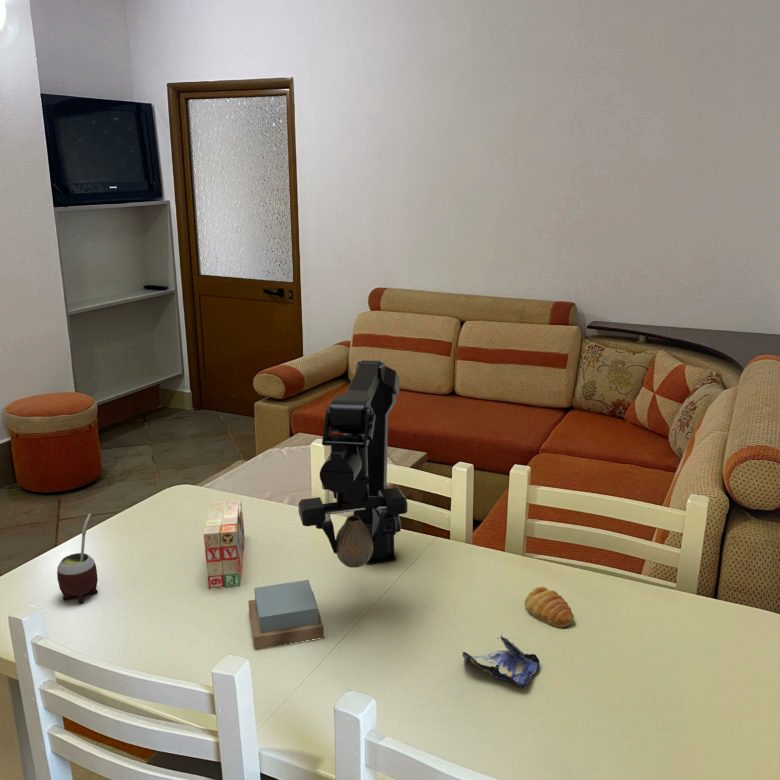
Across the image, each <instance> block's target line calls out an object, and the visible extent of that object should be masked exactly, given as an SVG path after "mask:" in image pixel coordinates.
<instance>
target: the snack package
mask: <svg viewBox="0 0 780 780" xmlns="http://www.w3.org/2000/svg"><path fill="white" fill-rule="evenodd" d="M498 639H499V637H497V640H498ZM499 640H501V641H502V643H503V645H504V647H505V649H506V650H496V651H493V652H490V653H488V654H485V655H481V654H480V655H471V654H469V653H467V652H465V651H463V652H462V655H461V656H462V657H463V658H464V660H465V662H468V661H470V662H471V663H472V665H474V666H476V667H478V668H479V669H480V670H482V671H483V672H485V673H487V674H489V675H490V676H491V677H494V678H496V679H499V680H504V681H508V682H512V683H514V684H515V685H516V686H518V687H519V688H521V689H523V690H524V689H525V688H526V686H527V685H528V684H529V682H530V681H531V679H532V677H533V675H535V674H536V673H537V672H538V671H539V668H540V665H541V664H540V659H539V658H538V656H537V655H536V654H534V653H530V654H528V653H524V652H523V651H522V650H520V648H519V647H518V646H516V644H514V643H513V642H511V641H510V640H509V639H507V638H506V637H503V634H501V635H500V639H499ZM476 659H482V660H484V661H487V662H489V663H493V664H495V666H493V665H491V666H489V665H488V664H486V665H485V664H481V663H479V662H478V661H477V660H476ZM500 668H507V671H508V673H506V672H505V673H504V672H501V671H500ZM536 675H537V674H536Z"/></svg>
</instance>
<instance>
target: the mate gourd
mask: <svg viewBox="0 0 780 780" xmlns="http://www.w3.org/2000/svg"><path fill="white" fill-rule="evenodd" d="M91 515H92V514H91V513H88V514H87V517H86V519H85V521H84V523H83V527H82V530H81V536H82V537H81V547H80V549H81V550H80V552H77V553H72V554H69V555H66V556H65V557H63V558H62V559H61V560H60V561H59V563H58V565H57V568H56V569H57V572H56V575H57V576H56V577H57V582H58V587H59V590H60V592H61V594H62V596H63V597H62V600H63V601H64V602H67V601H71V600H76V599H78V604H79V605H80V606H81V605H84V603H85V602H84V597H89V596H93V595H97V594H98V591H99V590H98V589H97V586H98V581H99V580H98V569H97V565H96V562H95V560H94V558H92V556H91V555H89V554H87V553H85V546H86V545H85V542H86V535H87V526H88V523H89V521H90V518H91Z"/></svg>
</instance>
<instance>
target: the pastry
mask: <svg viewBox="0 0 780 780" xmlns="http://www.w3.org/2000/svg"><path fill="white" fill-rule="evenodd" d="M524 605H525V607H526V609H527V612H528V613H530V615H532V616H533V618H535V619H537V620H539V621H541V622H542V623H545V624H547V625H549V626H551V627H556V628H560V629H561V628H565V627H568V626H570V625H572V622H573V621H574V618H575V616H574V613H573V612H572V608H571V607H570V605H569V604H568V602H567V601H566V600H565V599H564V598H563V596H562V595H561V594H558V592H557V591H555V590H549V589H548V588H547V587H546V586H539V587H535V588H534V589H532V591H530V592H529V593H528V594H527V596H526V598H525V600H524Z"/></svg>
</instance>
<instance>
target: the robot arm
mask: <svg viewBox="0 0 780 780" xmlns="http://www.w3.org/2000/svg"><path fill="white" fill-rule="evenodd" d="M355 368H356V369H355V372H354V376H353V377H352V379H351V381H350V382H349V385H348V387H347V389H346V391H345V392H343V393H340V394H337V395H336V396H334V398H333V399H331V401H330V403H329V405H328V406H327V407H326V410H325V416H324V425H323V433H322V440H321V441H322V442H321V445H322V446H329V447H330V453H329V456H328V457H327V459H326V460H325V462H324V463H323V465H321V467H320V468H321V469H320V471H319V480H320V482H321V488H322V489H323V490H324V491H326V490H329V491H330V492H332V495H333V498H334V499H335V500H336V502H329V503H323V501H322V499H321V497H320V496H319V497H312V498H311V497H309V498H303V499H302V498H301V499H300V500H299V502H298V505H297V506H298V514H299V518H300V521H301V523H302V526H303V527H313V526H314V527H315V528H316V529H318V530H320V529H321V530H322V531H323V532H324V534H325V536H326V537H327V539H328V541H329V545H330V547H331V549H332V551H333V554H336V541H335V540H336V535H335V527H334V524H333V520H332V519H331V515H334V514H342V513H351V512H353V516H359V517H360V519H361V521H362V522H363V523H364V524H365V525H366V526H367V528H368V529H369V530H370V532H371V534H372V537H373V543H374V547H373V553H372V556H371V558H370V560H369V561H368V562H367V563H366V564H365V565H372V564H381V563H386V562H394V561H395V562H396V561H397V559H398V558H397V555H396V554H395V536H396V534H397V533H399V532H401V529H402V526H401V525H402V523H401V518H400V515H405V514H407V513H408V500H407V497H406V496H405V494H404V493H403V492H402V490H401V489H400V488H398V487H392V488H390V487H388V481H387V480H388V446H389V445H388V442H389V441H388V437H389V435H388V433H389V414H390V412H391V410H392V409H393V407H394V406H395V404H396V403H397V395H399V394H400V388H401V386H400V385H401V384H400V383H401V382H400V377H399V375H398V372H397V371H396V370H395V369H392V368H391V367H389V366H387V365H386V364H385V362H383V361H381V360H364V359H362V360H360V361H357V364H356V366H355ZM331 433H333V434H331ZM336 555H337V554H336Z"/></svg>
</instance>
